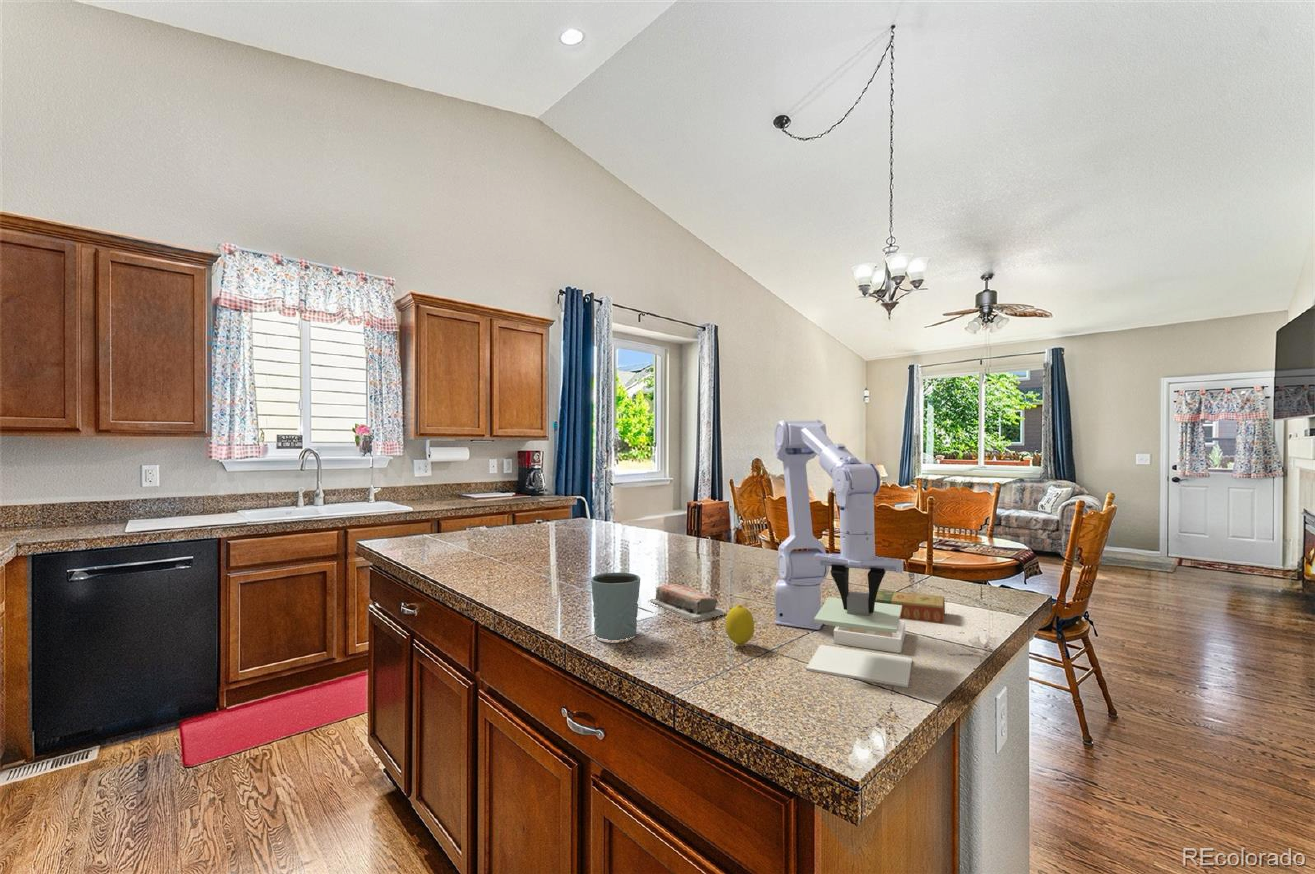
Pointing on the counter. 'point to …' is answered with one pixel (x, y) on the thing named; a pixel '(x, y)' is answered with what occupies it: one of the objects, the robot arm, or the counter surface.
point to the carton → (915, 605)
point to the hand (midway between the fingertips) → (858, 609)
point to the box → (871, 638)
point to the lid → (859, 614)
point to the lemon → (739, 625)
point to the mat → (861, 665)
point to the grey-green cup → (615, 605)
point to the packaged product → (686, 602)
